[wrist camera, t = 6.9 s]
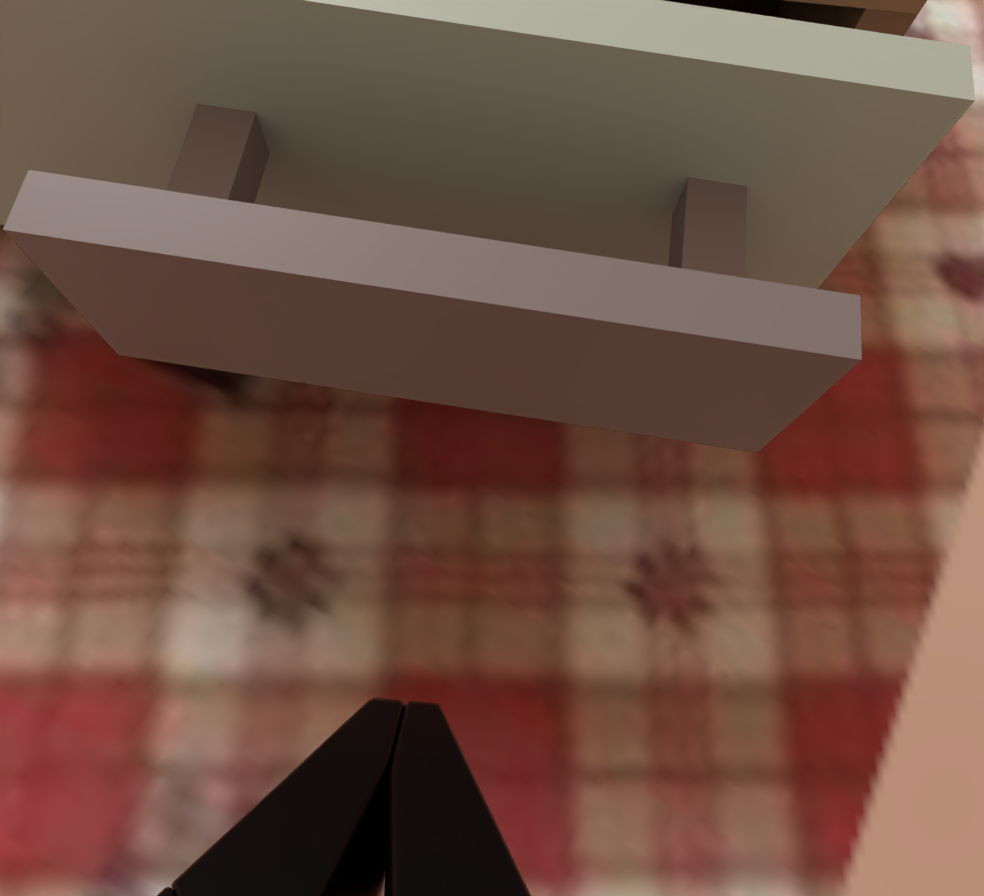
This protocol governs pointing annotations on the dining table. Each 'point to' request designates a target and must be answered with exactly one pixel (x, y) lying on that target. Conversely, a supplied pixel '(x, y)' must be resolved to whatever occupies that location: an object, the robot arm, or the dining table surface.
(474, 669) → the dining table surface
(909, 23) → the cabinet
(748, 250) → the cabinet door
